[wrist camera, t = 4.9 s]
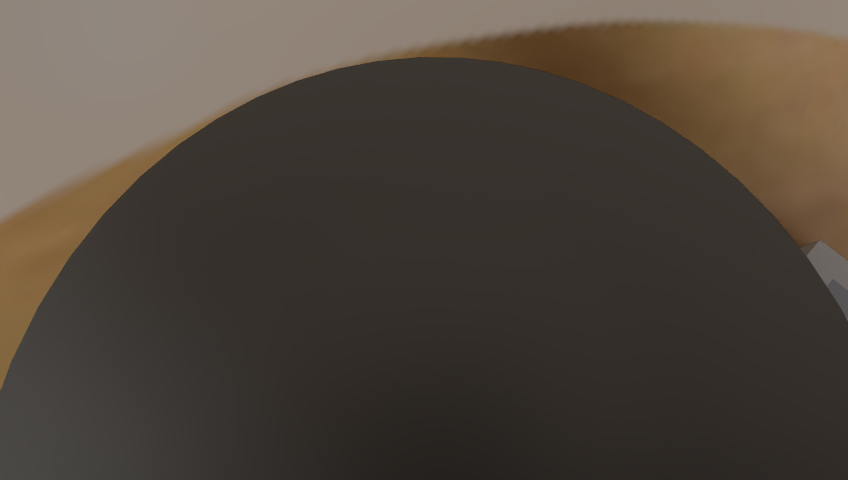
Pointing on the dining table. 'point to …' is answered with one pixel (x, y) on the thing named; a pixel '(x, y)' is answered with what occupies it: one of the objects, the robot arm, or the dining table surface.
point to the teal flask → (432, 301)
